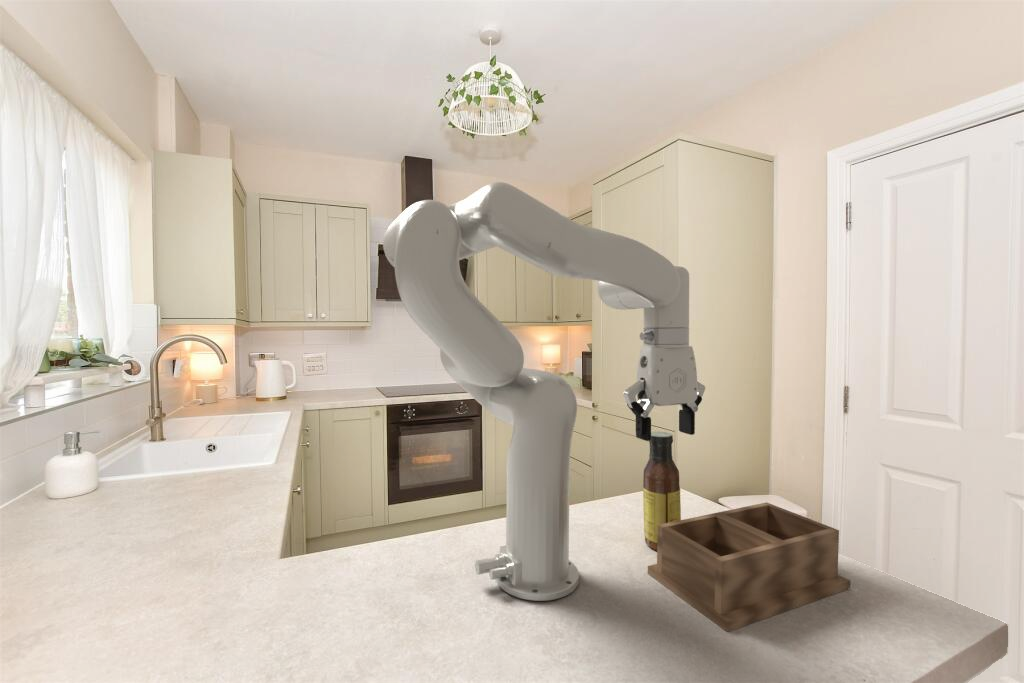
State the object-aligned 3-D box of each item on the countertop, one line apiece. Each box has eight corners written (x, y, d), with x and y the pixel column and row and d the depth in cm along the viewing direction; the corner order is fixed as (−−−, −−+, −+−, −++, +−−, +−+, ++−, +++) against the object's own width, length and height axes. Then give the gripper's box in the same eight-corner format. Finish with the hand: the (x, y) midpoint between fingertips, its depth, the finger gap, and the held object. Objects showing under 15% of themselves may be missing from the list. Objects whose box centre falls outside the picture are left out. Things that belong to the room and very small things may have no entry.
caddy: (727, 631, 58) (728, 567, 58) (647, 573, 72) (648, 521, 72) (850, 588, 69) (851, 533, 68) (759, 544, 82) (760, 499, 82)
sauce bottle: (675, 538, 84) (678, 430, 84) (685, 555, 78) (687, 438, 77) (639, 536, 85) (641, 429, 84) (645, 553, 79) (647, 437, 78)
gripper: (640, 340, 74) (639, 446, 74) (720, 338, 81) (719, 435, 81) (611, 339, 80) (611, 436, 81) (687, 337, 87) (687, 427, 88)
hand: (665, 436), depth 81 cm, fingers open, 9 cm apart
